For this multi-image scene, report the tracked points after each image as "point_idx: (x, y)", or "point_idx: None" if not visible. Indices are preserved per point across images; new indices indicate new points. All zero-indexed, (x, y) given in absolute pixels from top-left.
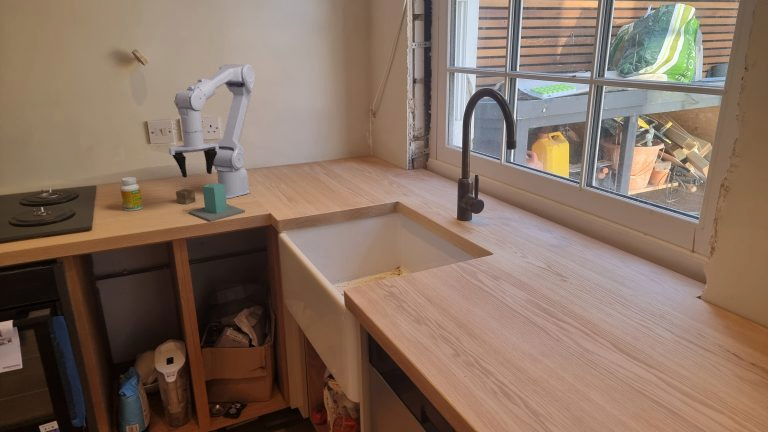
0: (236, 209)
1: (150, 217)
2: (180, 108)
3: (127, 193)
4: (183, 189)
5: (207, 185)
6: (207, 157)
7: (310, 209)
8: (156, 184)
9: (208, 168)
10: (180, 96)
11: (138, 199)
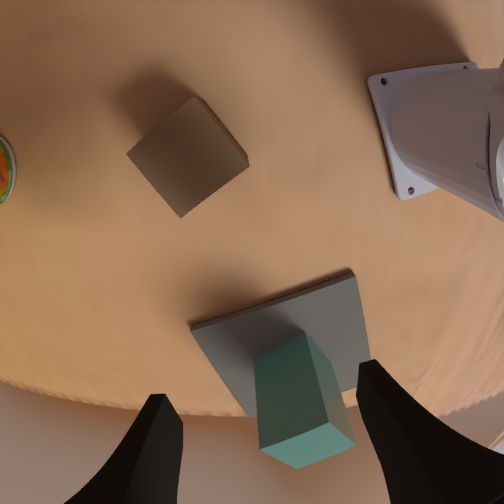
0: (357, 368)
1: (63, 307)
2: None
3: None
4: (178, 118)
5: (284, 446)
6: (405, 496)
7: (478, 382)
8: None
9: (370, 421)
10: None
11: None
